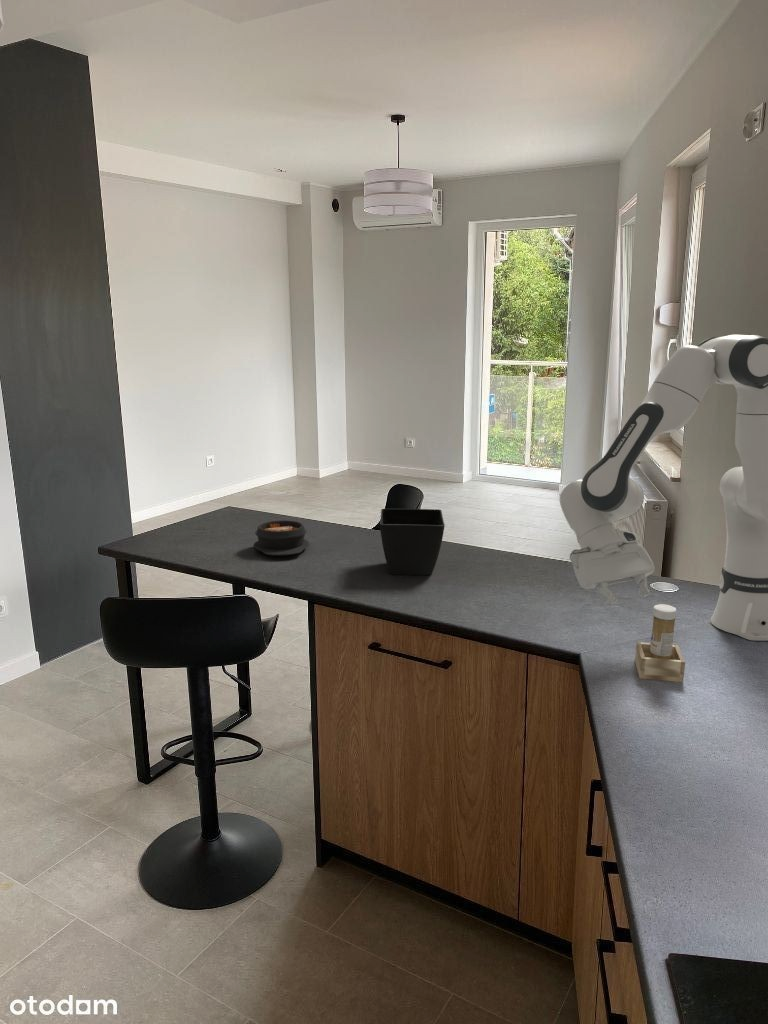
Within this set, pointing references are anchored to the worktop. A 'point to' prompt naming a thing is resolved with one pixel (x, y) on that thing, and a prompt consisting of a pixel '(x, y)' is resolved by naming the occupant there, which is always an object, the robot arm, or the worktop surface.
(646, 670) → the box
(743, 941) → the worktop surface
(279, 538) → the casserole
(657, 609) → the sprinkles bottle
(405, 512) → the flower pot
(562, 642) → the worktop surface
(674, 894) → the worktop surface
